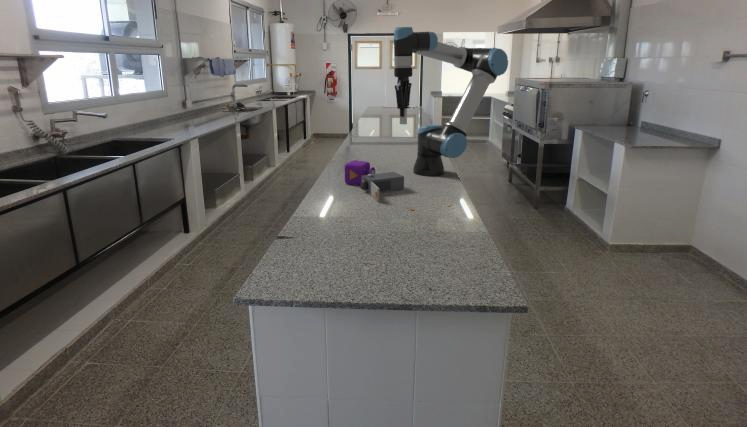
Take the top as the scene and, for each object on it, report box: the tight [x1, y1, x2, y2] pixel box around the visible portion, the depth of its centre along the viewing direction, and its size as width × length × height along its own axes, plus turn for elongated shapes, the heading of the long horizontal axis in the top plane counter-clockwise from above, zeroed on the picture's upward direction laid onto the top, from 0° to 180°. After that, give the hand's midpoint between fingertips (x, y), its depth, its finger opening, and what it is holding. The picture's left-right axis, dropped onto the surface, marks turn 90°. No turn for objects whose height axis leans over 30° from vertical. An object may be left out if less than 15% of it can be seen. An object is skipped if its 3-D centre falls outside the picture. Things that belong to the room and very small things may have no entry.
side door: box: [370, 181, 380, 202], centre depth 199 cm, size 10×2×6 cm, turn 15°
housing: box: [360, 171, 405, 195], centre depth 211 cm, size 18×9×7 cm, turn 117°
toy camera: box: [344, 158, 376, 186], centre depth 220 cm, size 11×14×10 cm
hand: (403, 124), depth 210 cm, fingers closed
